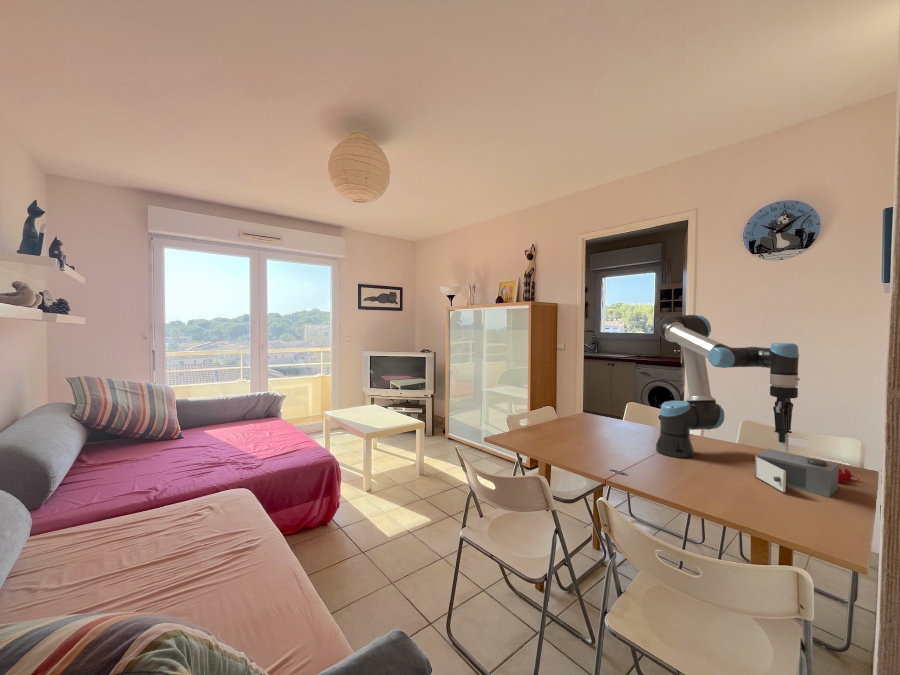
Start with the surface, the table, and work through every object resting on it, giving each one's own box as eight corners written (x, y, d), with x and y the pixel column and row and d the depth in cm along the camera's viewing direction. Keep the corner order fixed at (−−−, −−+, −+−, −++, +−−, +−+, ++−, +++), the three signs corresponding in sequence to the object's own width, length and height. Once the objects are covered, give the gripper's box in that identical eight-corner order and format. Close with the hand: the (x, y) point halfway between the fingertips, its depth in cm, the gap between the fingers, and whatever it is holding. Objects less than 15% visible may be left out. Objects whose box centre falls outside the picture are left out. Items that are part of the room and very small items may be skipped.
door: (751, 476, 144) (751, 455, 144) (757, 476, 144) (757, 455, 144) (779, 492, 131) (779, 469, 130) (785, 493, 130) (786, 469, 130)
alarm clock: (808, 459, 153) (860, 463, 140) (812, 475, 152) (865, 480, 139) (797, 464, 148) (850, 468, 135) (801, 481, 147) (854, 486, 134)
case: (756, 477, 144) (757, 452, 144) (767, 470, 151) (768, 446, 151) (829, 497, 128) (830, 468, 127) (838, 488, 134) (838, 461, 134)
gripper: (791, 389, 128) (790, 457, 128) (803, 385, 135) (802, 450, 136) (764, 386, 134) (763, 451, 135) (776, 383, 141) (775, 444, 142)
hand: (782, 450), depth 135 cm, fingers closed
